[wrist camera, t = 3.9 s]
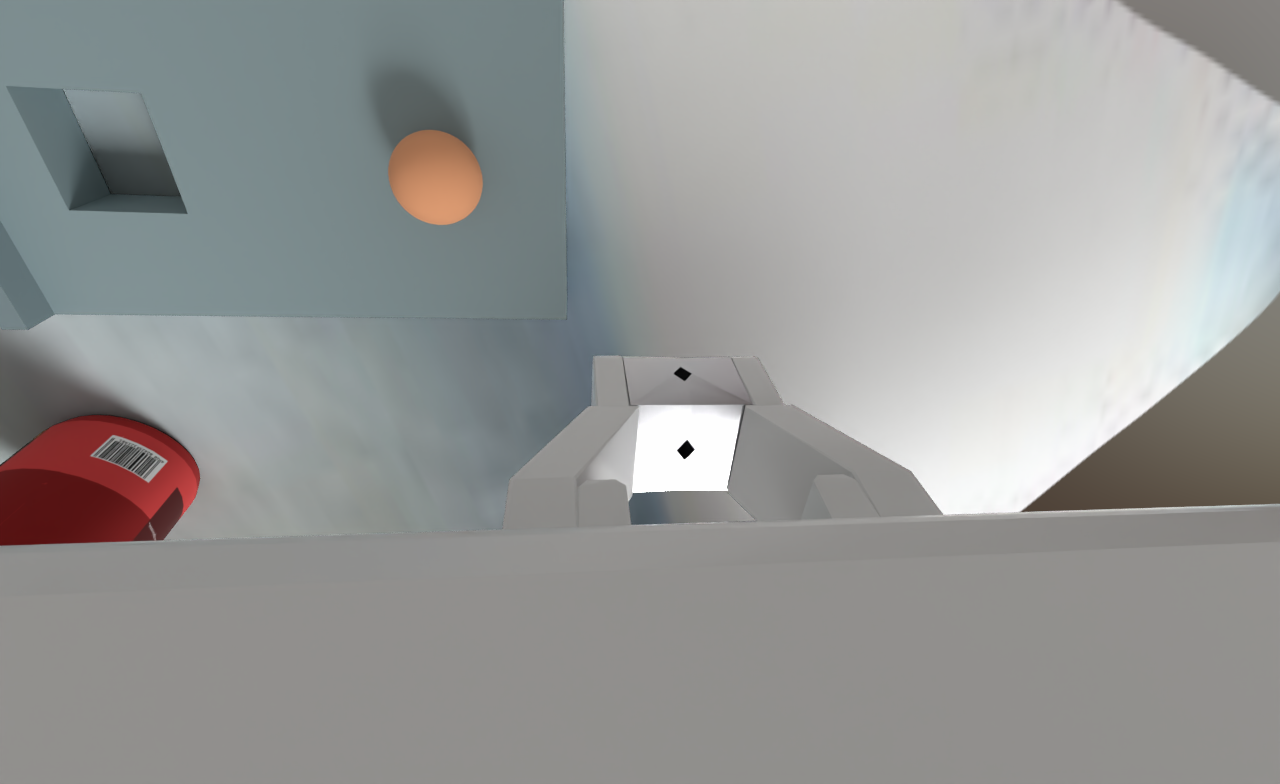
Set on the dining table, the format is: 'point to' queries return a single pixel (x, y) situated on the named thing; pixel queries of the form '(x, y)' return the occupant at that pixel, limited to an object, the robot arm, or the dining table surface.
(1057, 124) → the dining table surface
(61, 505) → the canned food
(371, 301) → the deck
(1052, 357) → the dining table surface
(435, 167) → the ball
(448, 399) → the dining table surface
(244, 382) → the dining table surface
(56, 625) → the robot arm
